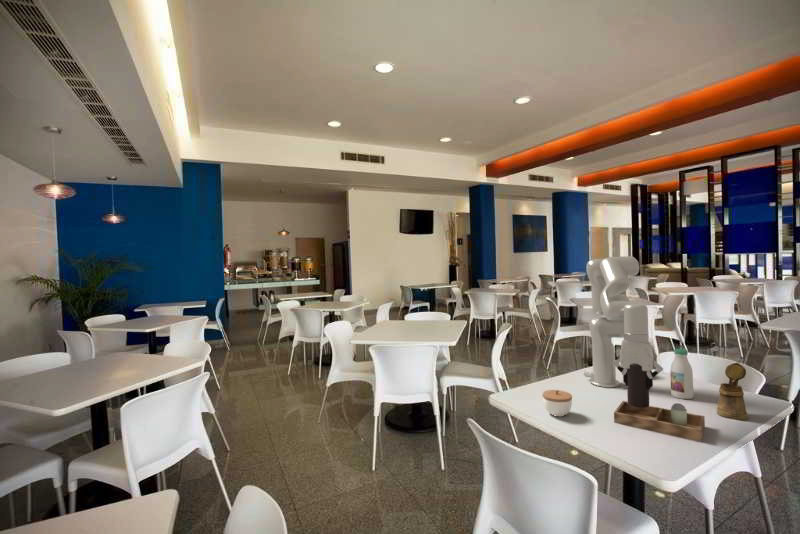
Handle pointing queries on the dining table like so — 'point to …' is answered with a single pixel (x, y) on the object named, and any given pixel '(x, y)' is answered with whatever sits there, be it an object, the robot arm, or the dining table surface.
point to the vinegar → (637, 386)
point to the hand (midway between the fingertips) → (637, 386)
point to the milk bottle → (681, 375)
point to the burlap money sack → (732, 394)
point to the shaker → (678, 414)
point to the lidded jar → (557, 402)
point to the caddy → (659, 421)
